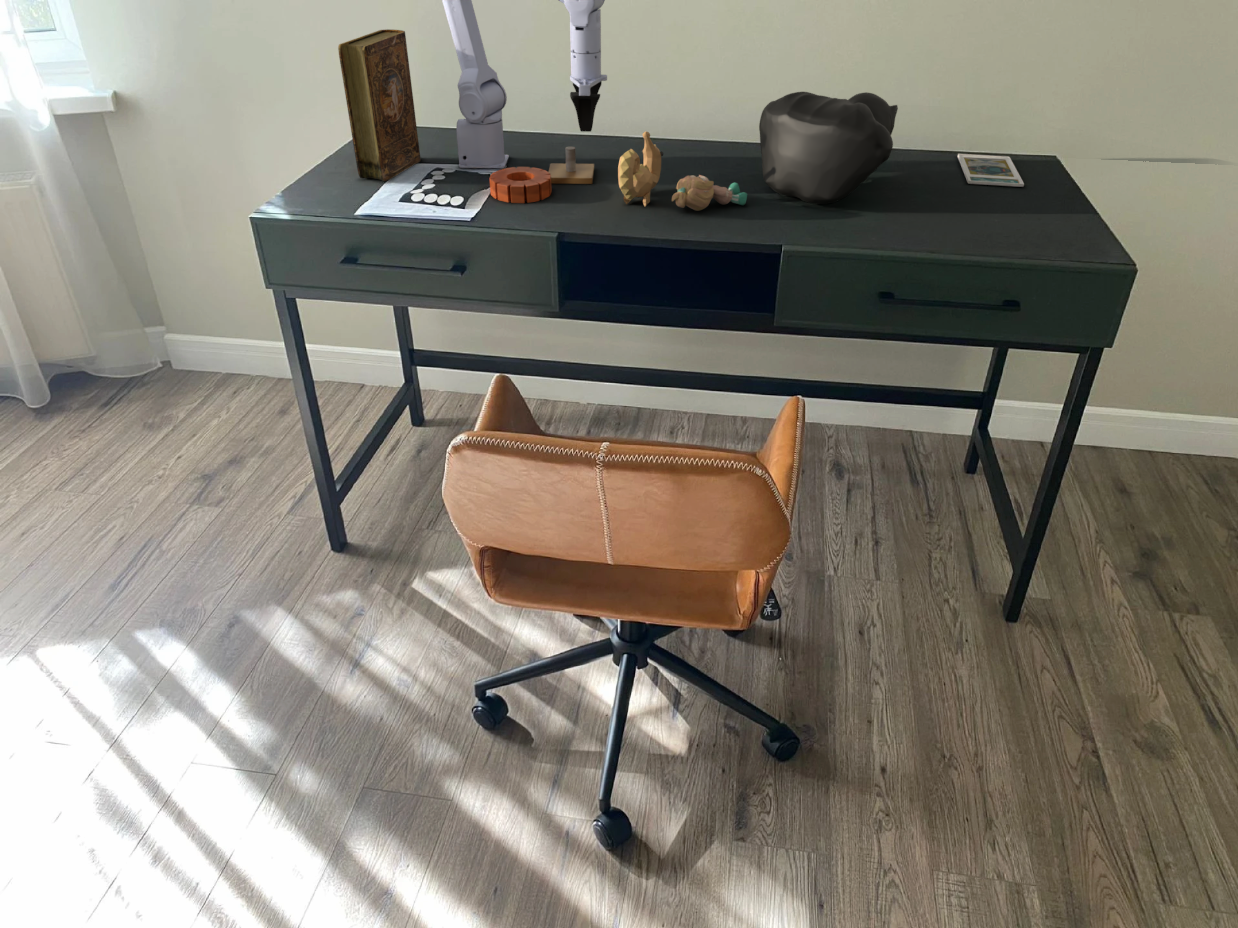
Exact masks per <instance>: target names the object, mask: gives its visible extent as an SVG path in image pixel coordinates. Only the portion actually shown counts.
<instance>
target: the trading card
mask: <svg viewBox="0 0 1238 928" xmlns="http://www.w3.org/2000/svg"><path fill="white" fill-rule="evenodd" d="M957 159H958V162H959V165H960V166H961V169H962V172H963V174H964V177H965V179H966V183H967V184H970V185H985V186H987V185H988V186H1002V187H1021V188H1024V186H1025V183H1024V180H1023V179H1022V177H1021V175H1020V173H1019V171H1018V170H1017V167H1016V165H1015V163H1014V162H1013V160H1012V158H1011V157H1010V156H1007V155H988V154H970V153H969V154H968V153H957Z"/></svg>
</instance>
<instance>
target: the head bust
mask: <svg viewBox="0 0 1238 928" xmlns="http://www.w3.org/2000/svg"><path fill="white" fill-rule="evenodd" d="M898 110H899V107H898V104H893V105H890V104H889V103H888V102H887V101H886V99H884V98H883V97H881V96H879V95H877V94H875V93H873V92H859V93H856V94H854V95H852V96H851V97H850V98H838V97H830V96H825V95H820V94H816V93H812V92H810V91H809V92H808V91H796V92H791V93H788V94H785V95H783V96H781V97H779V98H777V99H776V100H771V101H770V102H768V103H767V104H766V105H765V106H764V108H763V109H762V111H761V115H760V119H759V124H758V131H759V144H760V153H761V166H762V177H763V181H764V183H765V184H766V185H767V186H768V187H769V188H770V189H771V190H772V191H774V192H776V193H777V194H778V195H781V196H784V197H788V198H793V197H794V198H797V199H799V200H801V201H802V202H805V203H809V204H814V205H828V204H833V203H836V202H839V201H841V200H843V199H844V198H846V197H847V196H849V195H850V194H852V193H853V192H854V191H855V190H856V189H857V188H858V187H859V186H860V185H861V184H862V183H863V182H865V181H866V179H868V177H870V175H872V174H873V173H874V172H875V171H876V170H878V168H880V166H881V165H882V164H884V163H885V162H886V161H888V159H890V156H891V153H892V150H893V147H894V142H893V138H892V134H893V131H894V128H895V123H896V117H897V113H898Z"/></svg>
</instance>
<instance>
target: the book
mask: <svg viewBox="0 0 1238 928" xmlns="http://www.w3.org/2000/svg"><path fill="white" fill-rule="evenodd" d="M407 45H408V44H407V37H406V31H405V30H401V29H388V28H387V29H379V30H375V31H373V32H370V33H368V34H364V35H362V36H358V37H356V38H353V39H350V40H348V41H344V42H341V43H339V44H338V47H337V51H338V57H339V64H340V70H341V76H342V83H343V89H344V95H345V100H346V101H345V102H346V107H347V113H348V120H349V126H350V131H351V138H352V144H353V151H354V156H355V163H356V168H357V173H358V177H359V179H376V180H380V181H383V182H388V181H390V180H392V179H393V178H395V177H397V176H398V175H400V174H402V173H403V172H405V171H406V170H408V169H410V168H411V167H413V166H415V165H417V164H418V163H420V162H421V152H420V143H419V136H418V135H419V134H418V127H417V120H416V119H417V118H416V110H415V103H414V95H413V85H412V78H411V69H410V61H409V54H408V46H407Z"/></svg>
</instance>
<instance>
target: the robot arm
mask: <svg viewBox="0 0 1238 928" xmlns="http://www.w3.org/2000/svg"><path fill="white" fill-rule="evenodd" d="M441 1H442V6H443V8H444V13H445V16H446V19H447V23H448V26H449V29H450V34H451V38H452V41H453V42H452V43H453V45H454V49H455V52H456V56H457V60H458V63H459V67H460V70H461V72H460V76H459V80H458V82H457V89H458V94H459V95H458V97H459V98H458V108H459V111H460V113H461V115H462V116H463V117H464V118H459V119H457V120H456V128H455V129H456V131H455V132H456V134H455V135H456V145H457V155H458V168H460V169H505V168H506V166H507V163H508V161H509V157H510V156H509V154H505V141H504V139H505V138H504V125H503V109H504V108H505V107H506V104H507V101H508V98H507V97H508V96H507V92H506V89H505V87H504V85H502V83H501V81H500V79H499V76H498V73H497V72H496V71H495V70H494V69H493V68H492V67H491V66H490V65H489V62H488V59H487V55H486V50H485V46H484V43H483V39H482V35H481V31H480V27H479V25H478V24H479V23H478V19H477V16H476V13H475V8H474V3H473V1H472V0H441ZM558 1H559V3H562V4H564V7H565V8H566V10H567V12H568V14H569V40H570V42H569V45H570V75H569V80H570V82H572V86H573V88H574V90H575V91H570V93H569V97H570V100H571V102H572V104H573V106H574V109H575V113H576V117H577V122H578V123H577V124H578V127H579V130H580V132H583V133H584V132H587V133H590V132H592V131H593V130H592V129H593V125H594V119H595V113H596V112H595V111H596V107H597V105H598V102H599V100H600V98H601V93H599V91H600V89H601V87H602V82H606V81H608V74H602V20H601V19H602V17H601V16H602V11H601V8H602V7H603V5H604V4H605V1H606V0H558Z"/></svg>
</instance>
